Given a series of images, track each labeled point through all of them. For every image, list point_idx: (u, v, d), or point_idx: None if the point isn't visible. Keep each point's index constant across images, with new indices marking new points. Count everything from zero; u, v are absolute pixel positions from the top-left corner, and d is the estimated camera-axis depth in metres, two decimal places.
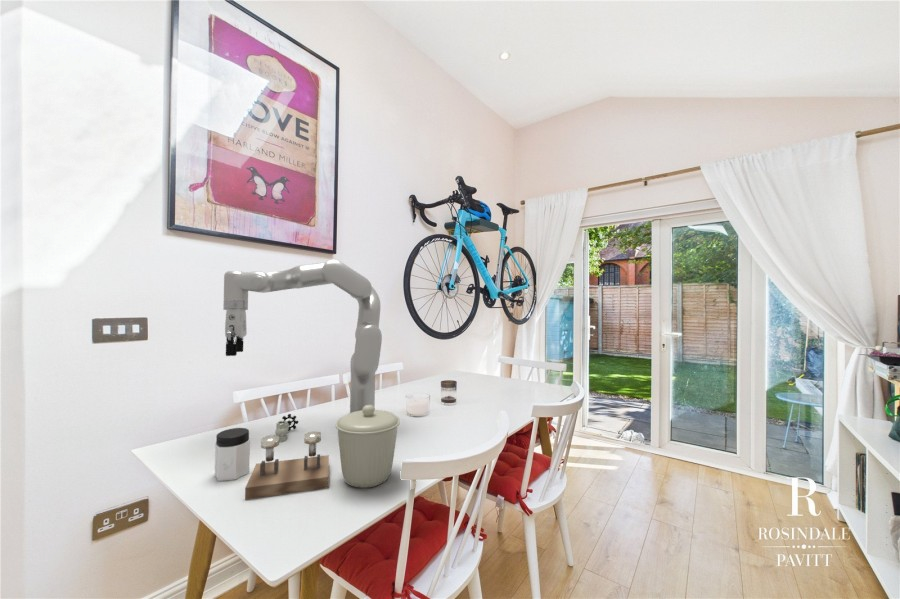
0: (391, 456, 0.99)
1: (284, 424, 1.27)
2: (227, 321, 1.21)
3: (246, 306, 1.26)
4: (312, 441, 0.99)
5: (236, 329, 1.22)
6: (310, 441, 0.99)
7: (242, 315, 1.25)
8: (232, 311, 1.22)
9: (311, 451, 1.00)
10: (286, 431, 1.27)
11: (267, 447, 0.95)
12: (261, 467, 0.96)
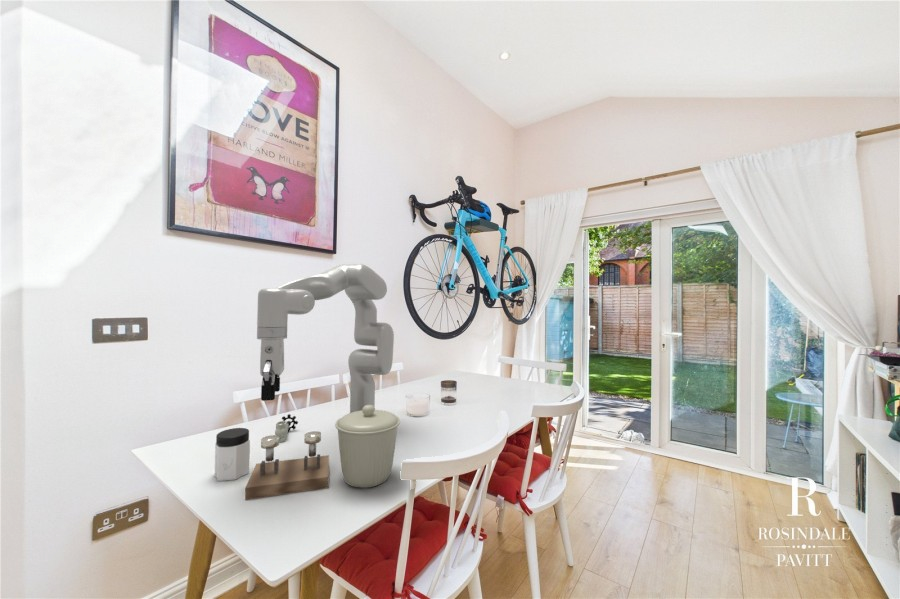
0: (391, 456, 0.99)
1: (284, 424, 1.26)
2: (263, 355, 0.93)
3: (285, 333, 0.98)
4: (312, 441, 0.99)
5: (274, 365, 0.93)
6: (310, 441, 0.99)
7: (281, 346, 0.96)
8: (269, 341, 0.94)
9: (311, 451, 1.00)
10: (286, 431, 1.27)
11: (267, 447, 0.95)
12: (261, 467, 0.96)
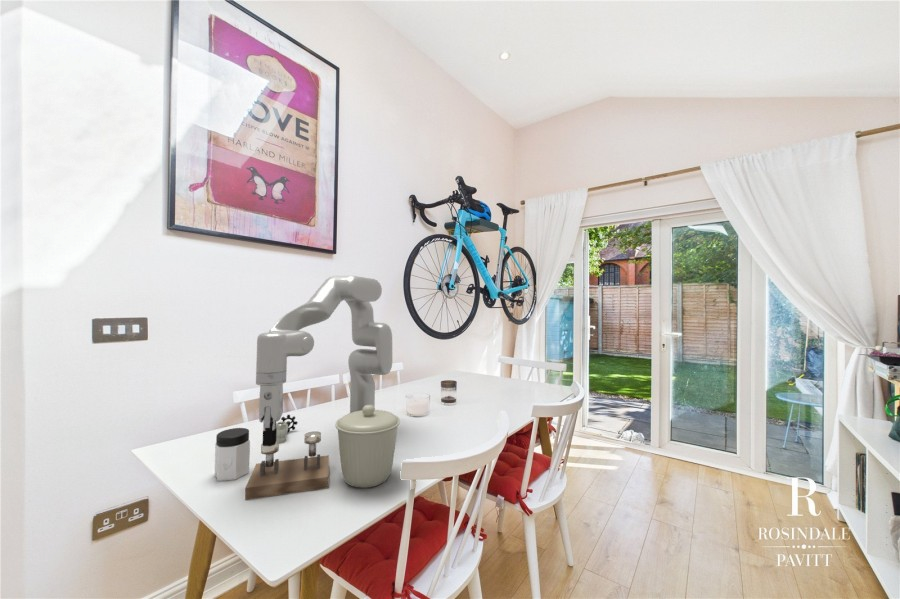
0: (391, 456, 0.99)
1: (283, 425, 1.26)
2: (262, 401, 0.92)
3: (285, 378, 0.98)
4: (312, 441, 0.99)
5: (273, 411, 0.93)
6: (310, 441, 0.99)
7: (280, 390, 0.96)
8: (268, 387, 0.93)
9: (311, 451, 1.00)
10: (285, 432, 1.26)
11: (267, 453, 0.95)
12: (261, 467, 0.96)
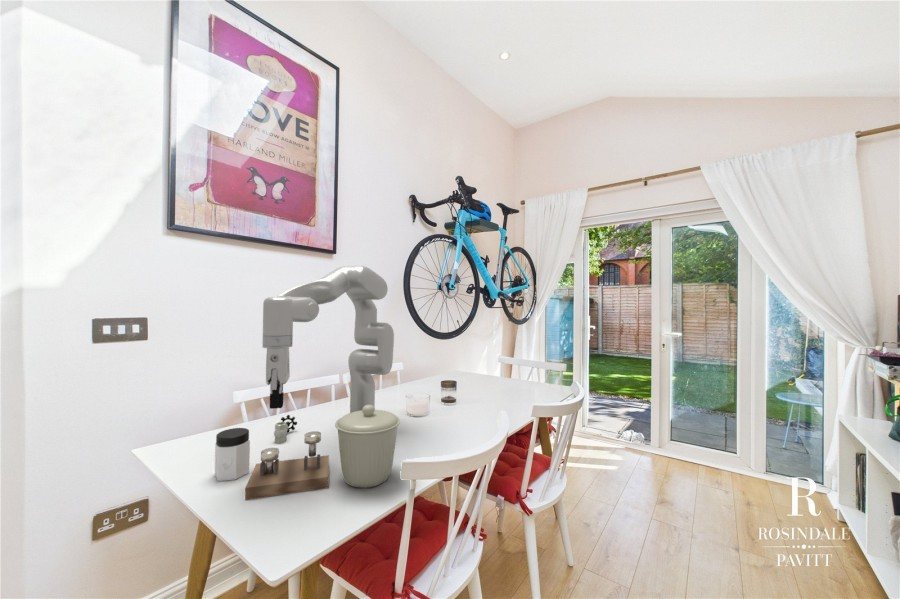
0: (391, 456, 0.99)
1: (283, 425, 1.25)
2: (268, 363, 0.93)
3: (291, 342, 0.98)
4: (312, 441, 0.99)
5: (280, 373, 0.94)
6: (310, 441, 0.99)
7: (286, 354, 0.97)
8: (275, 350, 0.94)
9: (311, 451, 1.00)
10: (285, 432, 1.26)
11: (267, 460, 0.95)
12: (261, 467, 0.96)
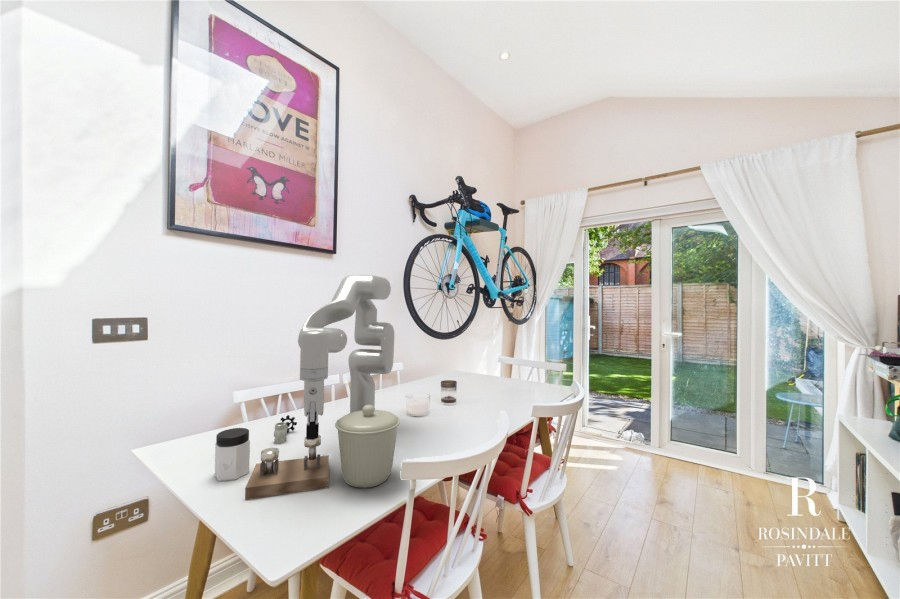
0: (391, 456, 0.99)
1: (283, 426, 1.25)
2: (307, 396, 0.96)
3: (327, 374, 1.01)
4: (312, 444, 0.99)
5: (318, 406, 0.97)
6: (310, 444, 0.99)
7: (323, 386, 1.00)
8: (313, 383, 0.97)
9: (311, 454, 1.00)
10: (285, 433, 1.25)
11: (267, 460, 0.95)
12: (261, 467, 0.96)
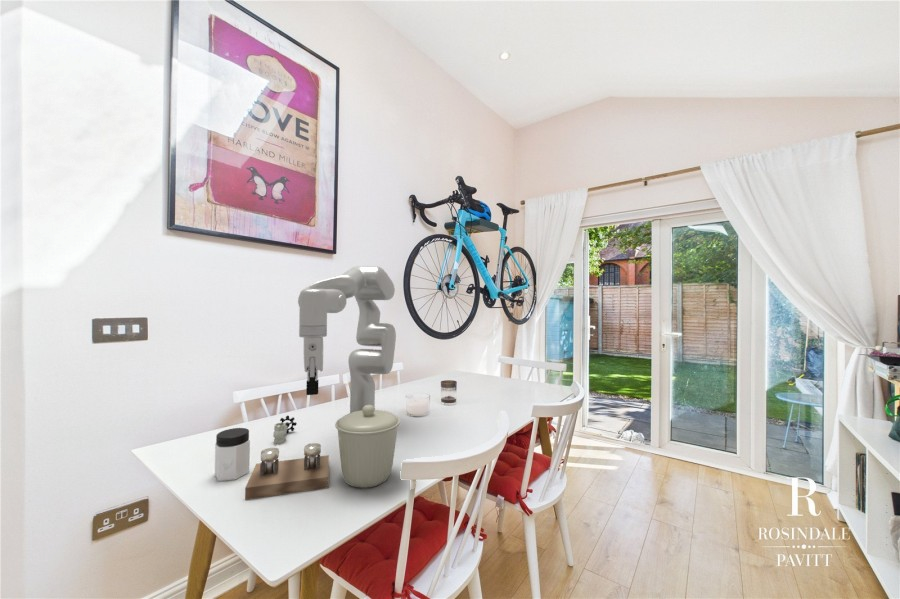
0: (391, 456, 0.99)
1: (282, 426, 1.25)
2: (307, 352, 0.98)
3: (326, 332, 1.03)
4: (312, 454, 0.99)
5: (317, 361, 0.99)
6: (310, 454, 0.99)
7: (322, 343, 1.01)
8: (312, 339, 0.99)
9: (310, 463, 1.00)
10: (284, 433, 1.25)
11: (267, 460, 0.95)
12: (261, 467, 0.96)
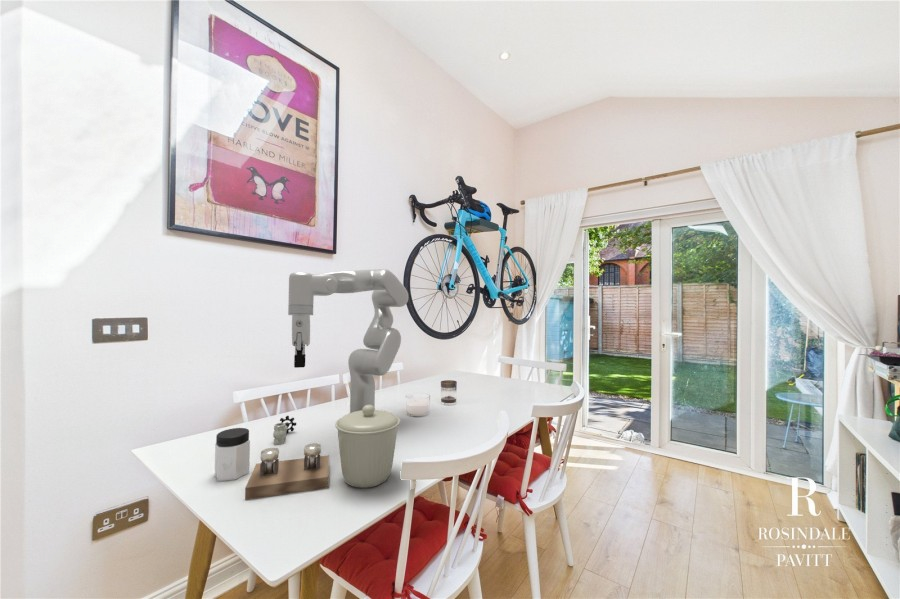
0: (391, 456, 0.99)
1: (282, 426, 1.24)
2: (294, 328, 1.10)
3: (312, 311, 1.15)
4: (312, 454, 0.99)
5: (304, 336, 1.10)
6: (310, 454, 0.99)
7: (309, 321, 1.13)
8: (299, 317, 1.11)
9: (310, 463, 1.00)
10: (284, 433, 1.25)
11: (267, 460, 0.95)
12: (261, 467, 0.96)
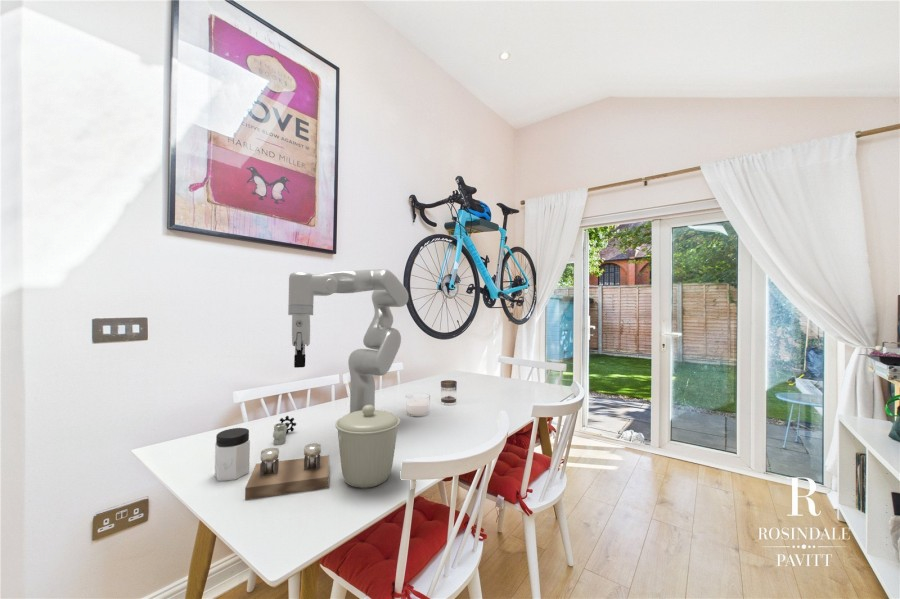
0: (391, 456, 0.99)
1: (282, 426, 1.24)
2: (294, 328, 1.10)
3: (312, 311, 1.15)
4: (312, 454, 0.99)
5: (304, 336, 1.10)
6: (310, 454, 0.99)
7: (309, 321, 1.13)
8: (299, 316, 1.11)
9: (310, 463, 1.00)
10: (284, 433, 1.25)
11: (267, 460, 0.95)
12: (261, 467, 0.96)
